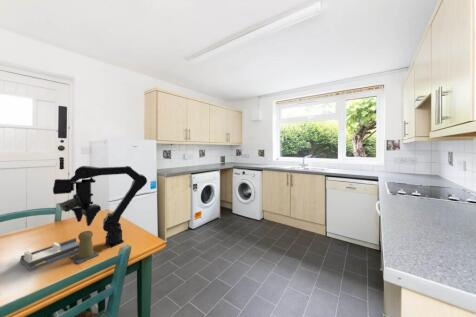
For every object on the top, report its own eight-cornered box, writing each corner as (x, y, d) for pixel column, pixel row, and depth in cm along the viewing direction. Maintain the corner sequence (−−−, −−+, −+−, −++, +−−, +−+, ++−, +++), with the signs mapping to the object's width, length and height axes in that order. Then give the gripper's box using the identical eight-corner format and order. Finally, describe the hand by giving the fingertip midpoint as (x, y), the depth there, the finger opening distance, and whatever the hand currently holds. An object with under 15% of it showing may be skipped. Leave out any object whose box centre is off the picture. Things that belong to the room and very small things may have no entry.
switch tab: (54, 248, 89) (54, 241, 89) (61, 252, 86) (61, 245, 86) (23, 259, 80) (23, 251, 80) (30, 264, 77) (29, 256, 77)
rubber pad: (90, 250, 92) (90, 249, 92) (99, 255, 88) (99, 254, 88) (69, 258, 84) (69, 257, 84) (78, 264, 81) (78, 263, 81)
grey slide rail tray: (74, 243, 98) (74, 237, 98) (86, 249, 92) (86, 243, 92) (20, 262, 81) (19, 255, 81) (30, 271, 75) (30, 264, 75)
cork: (97, 251, 90) (97, 229, 89) (87, 259, 84) (87, 235, 83) (84, 251, 90) (84, 229, 89) (73, 258, 83) (73, 234, 83)
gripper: (52, 192, 88) (53, 225, 89) (72, 198, 79) (72, 234, 80) (81, 188, 98) (81, 217, 99) (101, 193, 89) (101, 225, 90)
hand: (83, 223), depth 92 cm, fingers open, 9 cm apart
